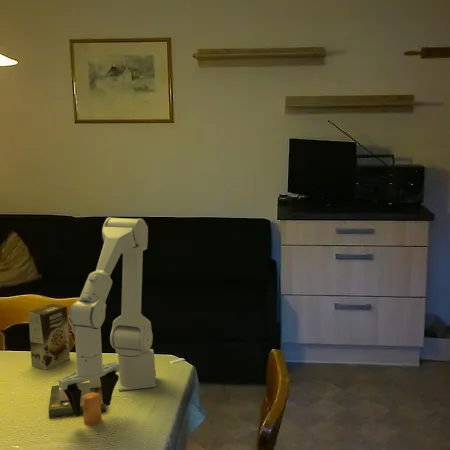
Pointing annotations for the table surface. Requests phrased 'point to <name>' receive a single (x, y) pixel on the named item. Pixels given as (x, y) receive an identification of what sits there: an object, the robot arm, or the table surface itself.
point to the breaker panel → (65, 407)
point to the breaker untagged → (95, 383)
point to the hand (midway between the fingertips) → (92, 409)
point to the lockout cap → (92, 408)
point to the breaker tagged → (62, 395)
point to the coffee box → (49, 336)
